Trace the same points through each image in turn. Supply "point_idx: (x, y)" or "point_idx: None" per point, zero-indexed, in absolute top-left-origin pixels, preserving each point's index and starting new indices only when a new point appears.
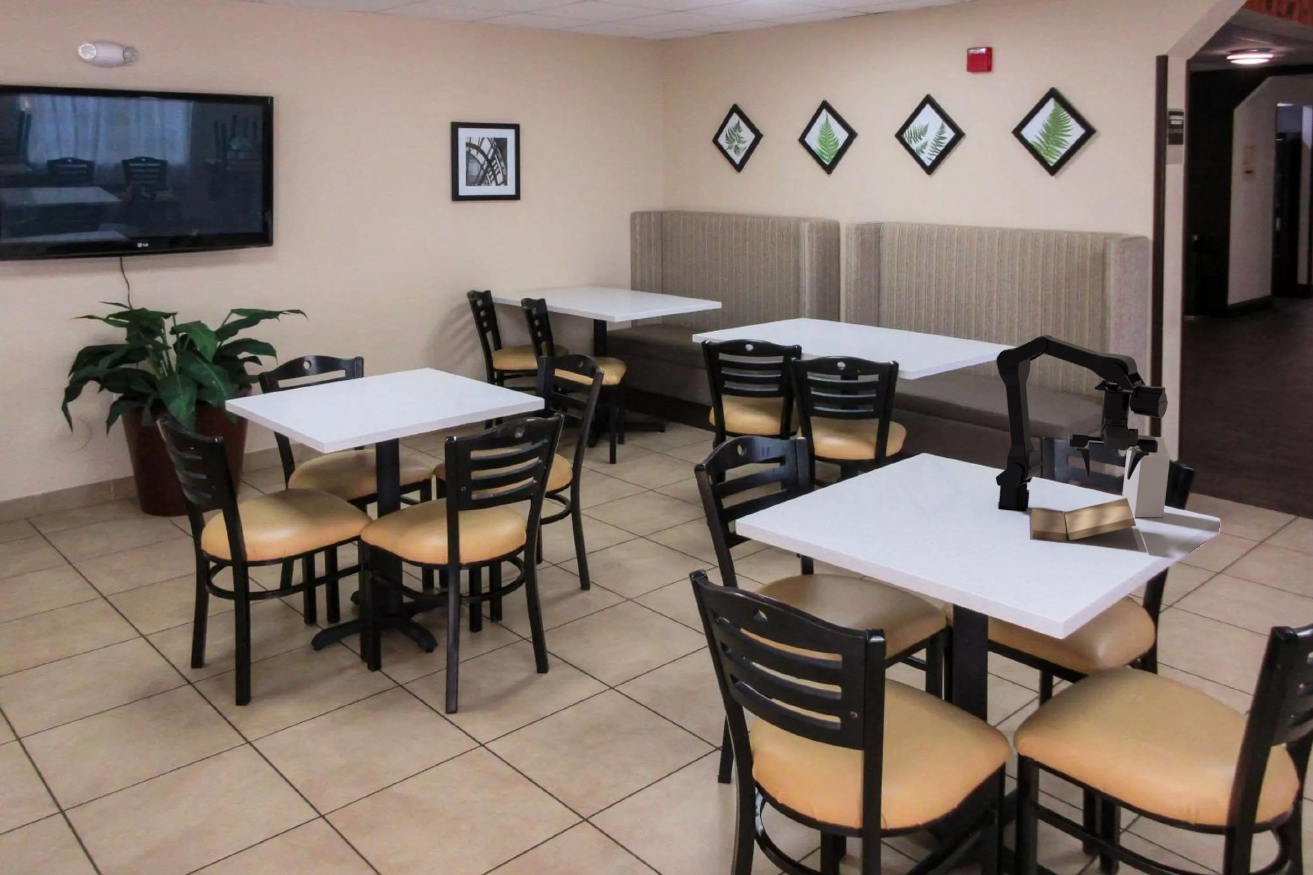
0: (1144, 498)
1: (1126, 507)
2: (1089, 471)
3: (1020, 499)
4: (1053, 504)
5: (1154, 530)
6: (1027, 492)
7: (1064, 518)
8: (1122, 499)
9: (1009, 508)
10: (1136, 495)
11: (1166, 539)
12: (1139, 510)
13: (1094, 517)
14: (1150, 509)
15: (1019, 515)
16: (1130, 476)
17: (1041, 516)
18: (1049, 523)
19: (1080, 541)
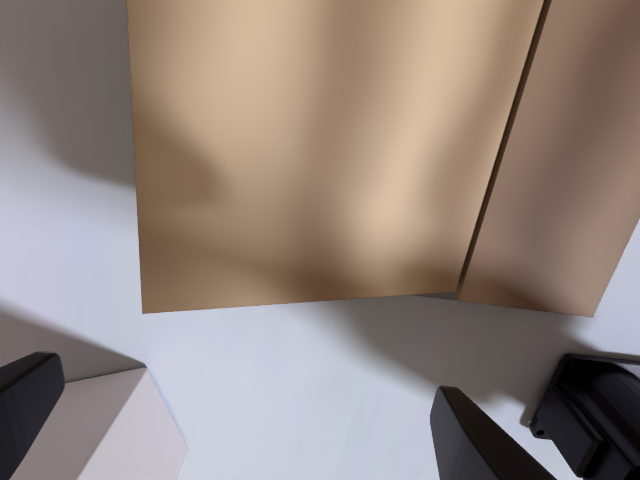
0: (72, 437)
1: (159, 79)
2: (464, 421)
3: (614, 406)
4: (414, 461)
5: (77, 217)
6: (602, 441)
7: (434, 294)
8: (172, 295)
9: (627, 372)
10: (101, 446)
11: (22, 79)
12: (119, 390)
13: (386, 46)
14: (74, 401)
15: (600, 320)
16: (2, 370)
17: (603, 197)
18: (619, 62)
19: None
